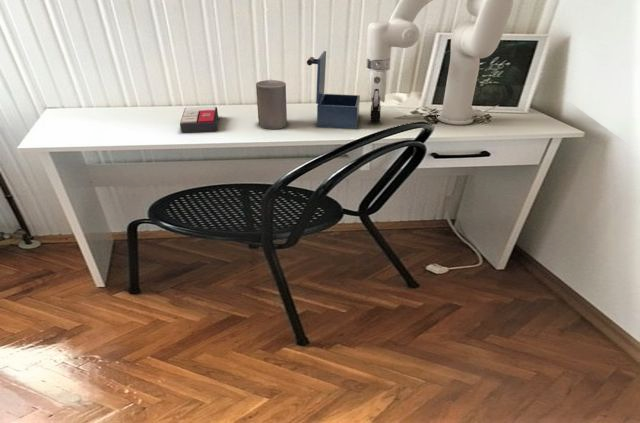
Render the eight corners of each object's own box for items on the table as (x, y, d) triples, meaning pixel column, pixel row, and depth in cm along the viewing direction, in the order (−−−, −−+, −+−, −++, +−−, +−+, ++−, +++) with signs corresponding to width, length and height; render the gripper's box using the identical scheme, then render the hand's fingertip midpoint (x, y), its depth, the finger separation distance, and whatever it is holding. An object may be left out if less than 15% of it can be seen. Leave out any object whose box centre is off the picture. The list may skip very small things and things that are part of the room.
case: (358, 115, 147) (359, 95, 143) (356, 129, 135) (357, 107, 131) (322, 113, 149) (323, 93, 145) (317, 126, 136) (317, 105, 133)
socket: (380, 118, 141) (380, 104, 139) (379, 121, 138) (380, 107, 136) (370, 118, 142) (371, 104, 139) (370, 121, 139) (370, 106, 136)
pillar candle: (252, 125, 137) (248, 79, 129) (272, 118, 144) (270, 74, 136) (273, 131, 132) (271, 84, 124) (293, 123, 139) (292, 78, 131)
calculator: (179, 121, 128) (184, 105, 140) (181, 134, 130) (186, 117, 143) (214, 120, 130) (216, 104, 142) (216, 133, 132) (218, 116, 144)
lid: (326, 51, 138) (311, 50, 138) (320, 59, 125) (304, 57, 126) (324, 92, 145) (310, 91, 145) (318, 103, 132) (303, 102, 133)
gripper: (390, 69, 123) (386, 128, 133) (389, 59, 137) (386, 112, 146) (365, 69, 124) (363, 127, 133) (367, 59, 138) (365, 112, 147)
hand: (375, 119), depth 140 cm, fingers closed on socket, 3 cm apart
